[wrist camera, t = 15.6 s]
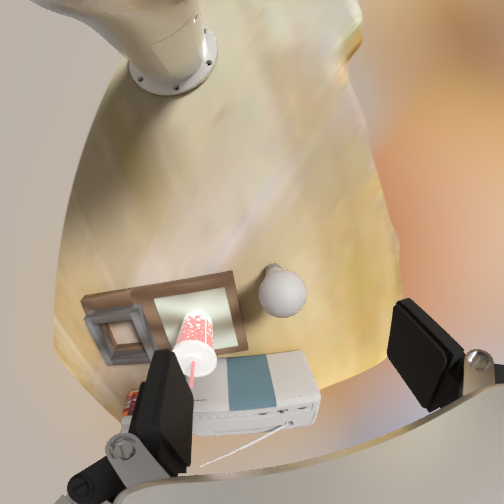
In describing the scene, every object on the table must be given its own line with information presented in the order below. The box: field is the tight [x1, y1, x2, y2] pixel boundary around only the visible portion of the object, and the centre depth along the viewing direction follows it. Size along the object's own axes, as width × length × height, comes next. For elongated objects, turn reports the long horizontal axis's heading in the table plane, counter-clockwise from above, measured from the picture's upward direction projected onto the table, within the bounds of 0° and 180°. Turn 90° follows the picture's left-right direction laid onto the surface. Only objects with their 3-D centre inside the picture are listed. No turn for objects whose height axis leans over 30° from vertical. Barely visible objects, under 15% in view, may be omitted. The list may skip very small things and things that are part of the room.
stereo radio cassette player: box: [186, 350, 321, 468], centre depth 40 cm, size 21×8×20 cm, turn 92°
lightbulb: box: [259, 264, 307, 318], centre depth 37 cm, size 6×6×11 cm
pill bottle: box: [121, 390, 139, 433], centre depth 45 cm, size 6×6×11 cm
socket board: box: [81, 271, 248, 365], centre depth 42 cm, size 14×26×4 cm, turn 99°
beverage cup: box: [172, 311, 217, 390], centre depth 35 cm, size 6×6×14 cm
